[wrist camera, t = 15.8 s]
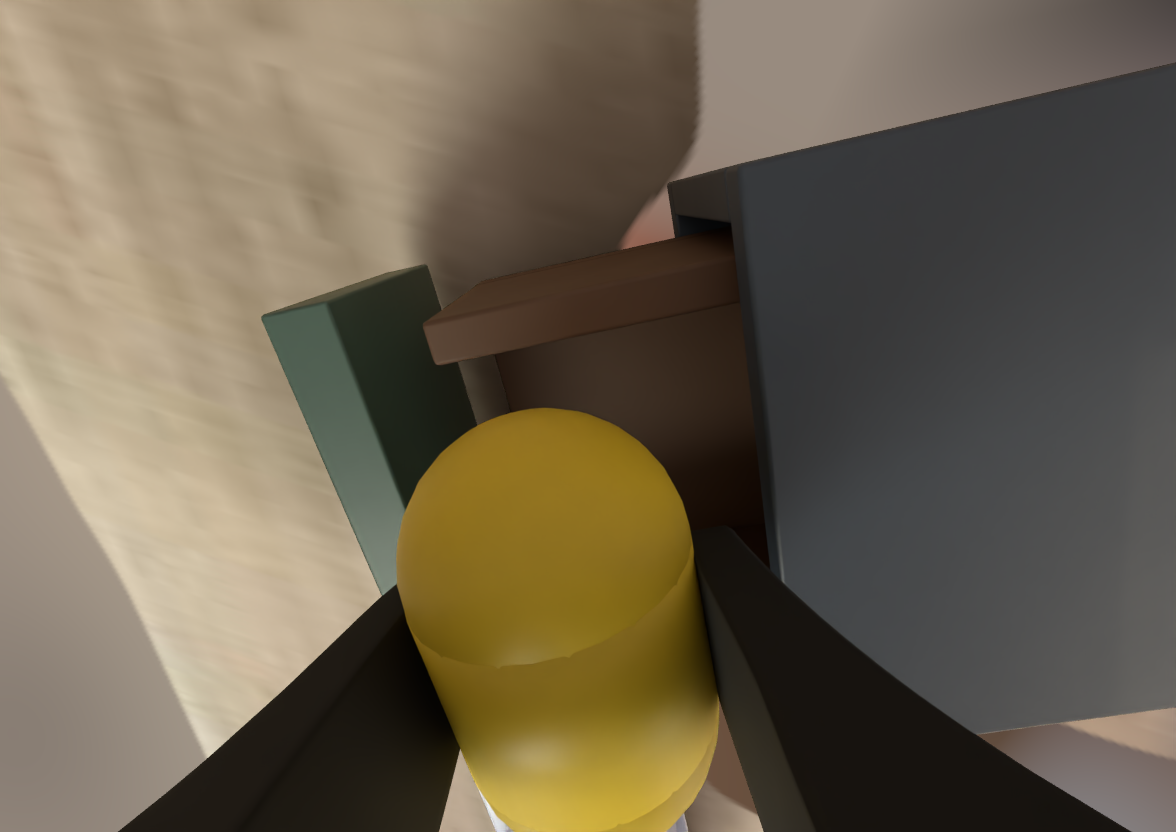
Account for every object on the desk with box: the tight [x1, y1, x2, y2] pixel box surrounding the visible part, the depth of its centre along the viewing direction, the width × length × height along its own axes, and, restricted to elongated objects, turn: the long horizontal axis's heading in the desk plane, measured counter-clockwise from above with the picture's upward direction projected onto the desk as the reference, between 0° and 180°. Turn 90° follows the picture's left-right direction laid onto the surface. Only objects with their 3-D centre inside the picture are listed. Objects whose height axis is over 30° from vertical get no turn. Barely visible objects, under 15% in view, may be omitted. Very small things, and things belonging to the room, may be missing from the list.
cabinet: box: [667, 63, 1176, 734], centre depth 12 cm, size 13×12×8 cm
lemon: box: [396, 408, 719, 832], centre depth 8 cm, size 7×4×4 cm, turn 12°
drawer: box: [261, 226, 770, 596], centre depth 13 cm, size 13×10×6 cm
